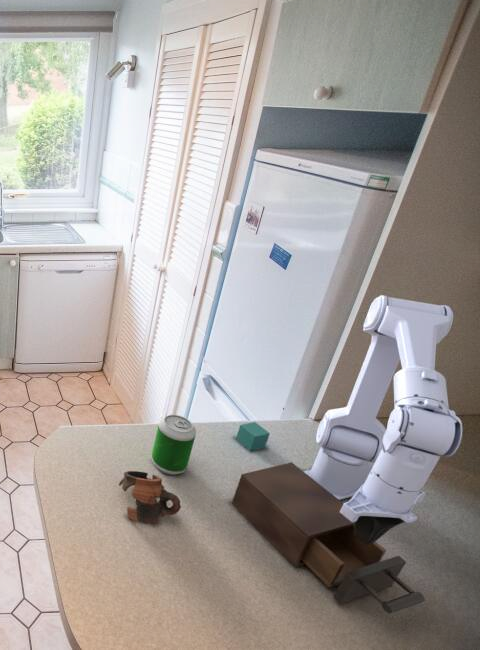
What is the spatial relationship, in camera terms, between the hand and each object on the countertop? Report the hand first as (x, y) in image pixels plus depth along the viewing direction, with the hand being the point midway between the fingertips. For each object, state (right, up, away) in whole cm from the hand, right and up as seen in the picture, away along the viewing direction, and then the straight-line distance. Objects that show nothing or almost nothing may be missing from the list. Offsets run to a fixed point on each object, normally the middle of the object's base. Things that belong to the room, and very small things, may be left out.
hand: (363, 538), depth 74 cm
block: (+4, +5, +36) cm, 36 cm away
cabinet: (-2, -5, +14) cm, 15 cm away
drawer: (0, -8, +5) cm, 9 cm away
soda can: (-19, +2, +29) cm, 35 cm away
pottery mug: (-29, -3, +18) cm, 34 cm away
